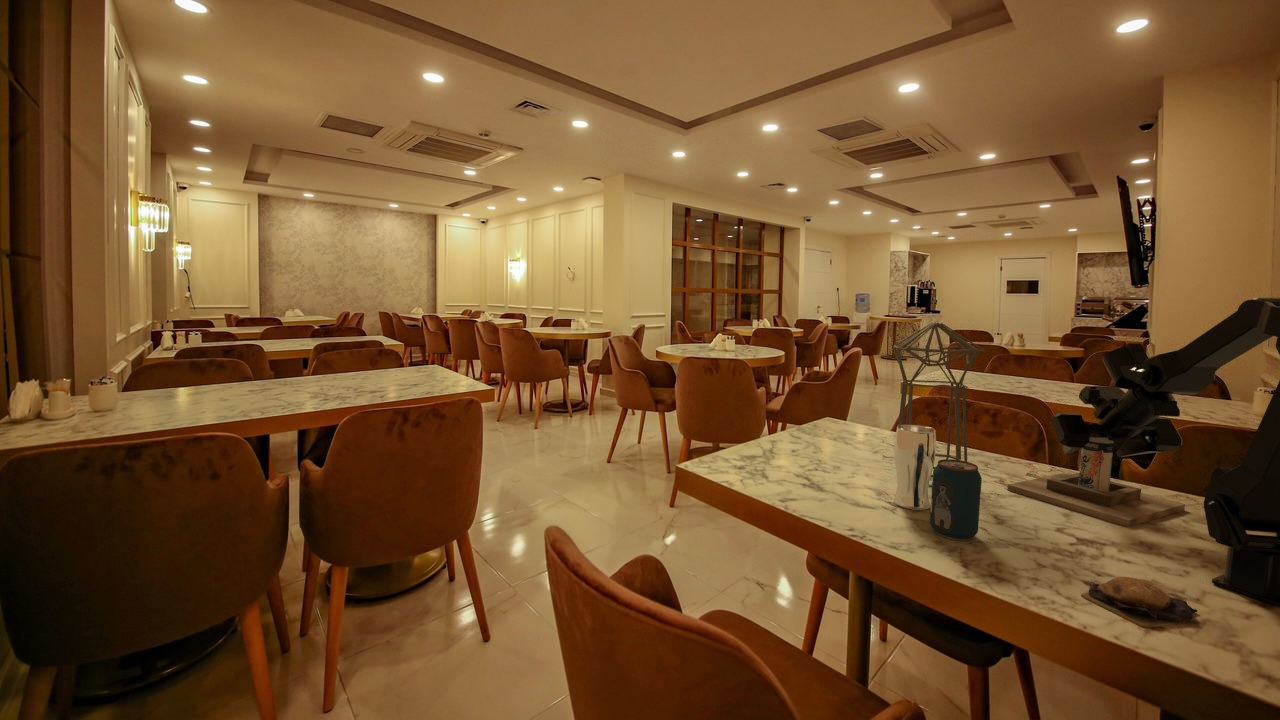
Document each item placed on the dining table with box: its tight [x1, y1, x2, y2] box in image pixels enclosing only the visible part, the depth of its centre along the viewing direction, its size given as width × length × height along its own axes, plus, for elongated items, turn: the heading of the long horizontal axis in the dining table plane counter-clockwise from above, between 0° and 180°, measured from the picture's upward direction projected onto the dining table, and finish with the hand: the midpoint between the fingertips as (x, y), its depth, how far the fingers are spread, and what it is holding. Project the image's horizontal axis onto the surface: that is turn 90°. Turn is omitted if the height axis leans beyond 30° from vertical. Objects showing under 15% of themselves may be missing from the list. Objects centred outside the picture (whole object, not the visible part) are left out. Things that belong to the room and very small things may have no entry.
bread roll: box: [1080, 576, 1198, 629], centre depth 66 cm, size 11×8×4 cm
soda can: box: [929, 458, 983, 542], centre depth 86 cm, size 7×7×12 cm
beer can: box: [1078, 437, 1115, 493], centre depth 102 cm, size 5×5×12 cm
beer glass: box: [893, 424, 937, 511], centre depth 99 cm, size 7×7×15 cm
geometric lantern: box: [892, 322, 985, 488], centre depth 112 cm, size 16×16×35 cm
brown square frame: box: [1006, 472, 1186, 528], centre depth 103 cm, size 20×20×3 cm
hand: (1091, 453), depth 104 cm, fingers open, 9 cm apart
